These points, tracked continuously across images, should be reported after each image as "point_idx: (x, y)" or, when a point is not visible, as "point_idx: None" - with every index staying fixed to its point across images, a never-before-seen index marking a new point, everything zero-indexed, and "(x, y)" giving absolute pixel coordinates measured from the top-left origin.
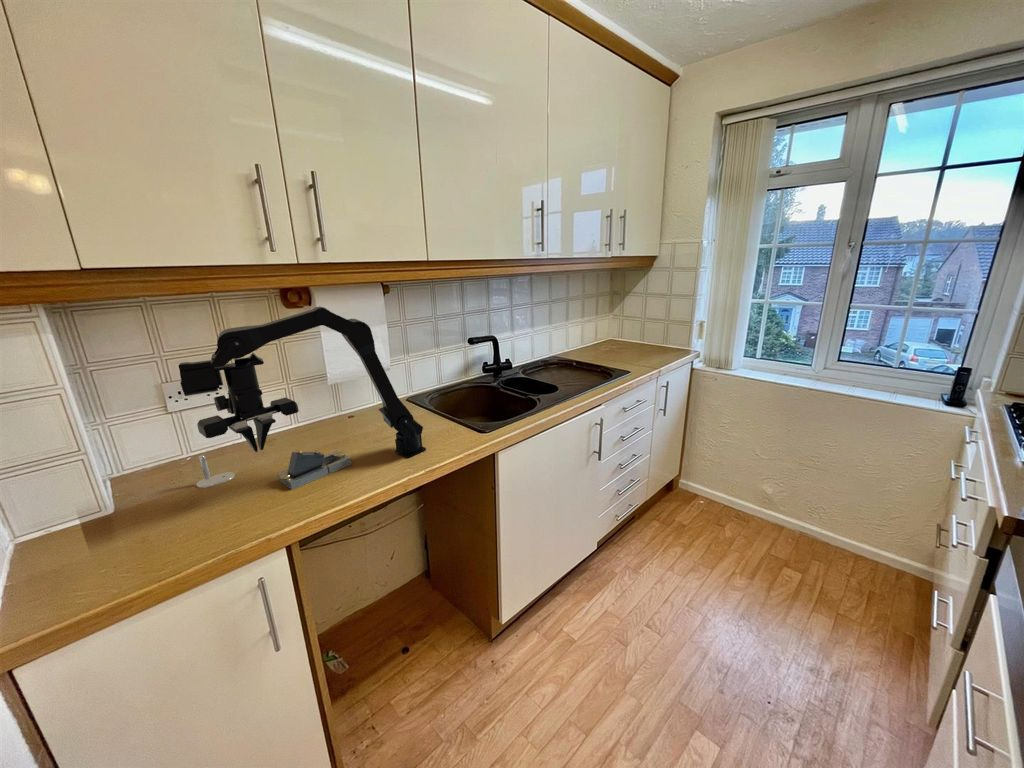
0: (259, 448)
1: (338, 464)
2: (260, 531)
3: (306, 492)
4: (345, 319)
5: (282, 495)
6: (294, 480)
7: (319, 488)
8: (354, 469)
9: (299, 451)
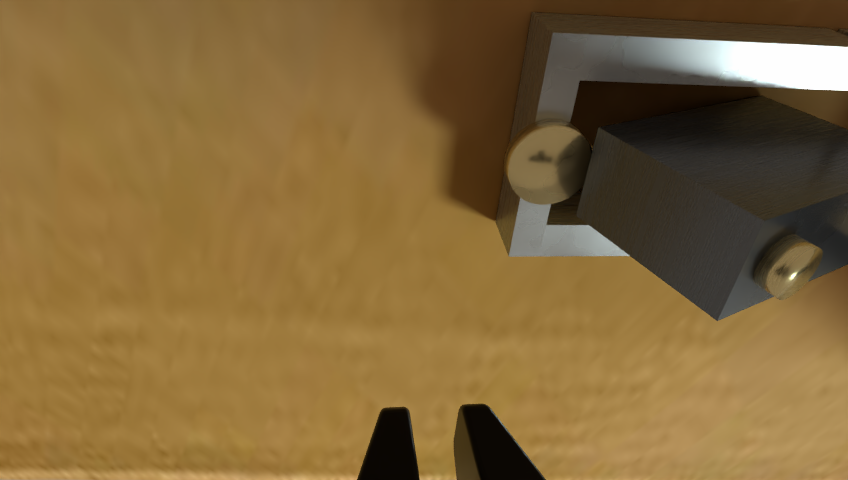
0: (461, 416)
1: None
2: (207, 437)
3: (522, 307)
4: None
5: (424, 236)
6: (541, 252)
7: (585, 320)
8: (832, 285)
9: (780, 293)
